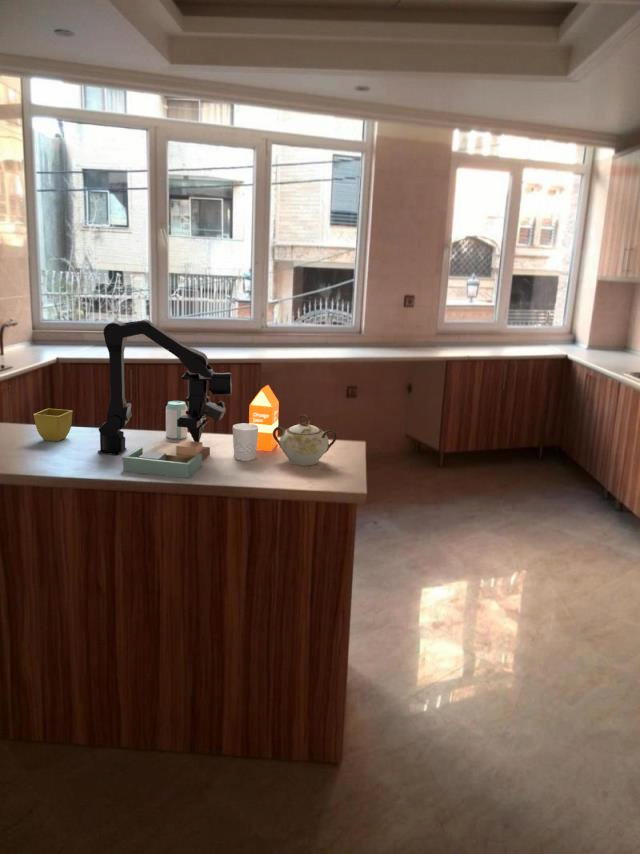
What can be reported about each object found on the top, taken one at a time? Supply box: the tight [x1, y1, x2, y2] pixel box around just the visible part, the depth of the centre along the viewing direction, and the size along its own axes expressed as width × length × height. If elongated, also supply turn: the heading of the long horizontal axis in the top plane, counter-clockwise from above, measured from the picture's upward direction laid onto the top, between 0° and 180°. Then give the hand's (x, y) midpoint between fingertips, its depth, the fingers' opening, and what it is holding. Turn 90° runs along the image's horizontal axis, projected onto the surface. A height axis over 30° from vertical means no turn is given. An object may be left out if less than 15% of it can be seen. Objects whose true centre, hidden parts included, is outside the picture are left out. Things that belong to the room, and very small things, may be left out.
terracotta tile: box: [176, 440, 204, 456], centre depth 199 cm, size 6×6×2 cm
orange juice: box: [248, 384, 280, 452], centre depth 215 cm, size 8×9×20 cm
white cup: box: [232, 422, 259, 462], centre depth 204 cm, size 8×8×10 cm
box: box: [122, 446, 203, 479], centre depth 190 cm, size 19×11×4 cm, turn 80°
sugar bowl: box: [273, 414, 337, 467], centre depth 202 cm, size 20×15×15 cm
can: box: [165, 400, 188, 440], centre depth 221 cm, size 7×7×12 cm
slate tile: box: [138, 450, 166, 461], centre depth 193 cm, size 6×6×2 cm
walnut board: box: [147, 441, 211, 463], centre depth 201 cm, size 16×12×2 cm
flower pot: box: [33, 408, 73, 442], centre depth 212 cm, size 9×9×9 cm
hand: (197, 443), depth 205 cm, fingers closed
